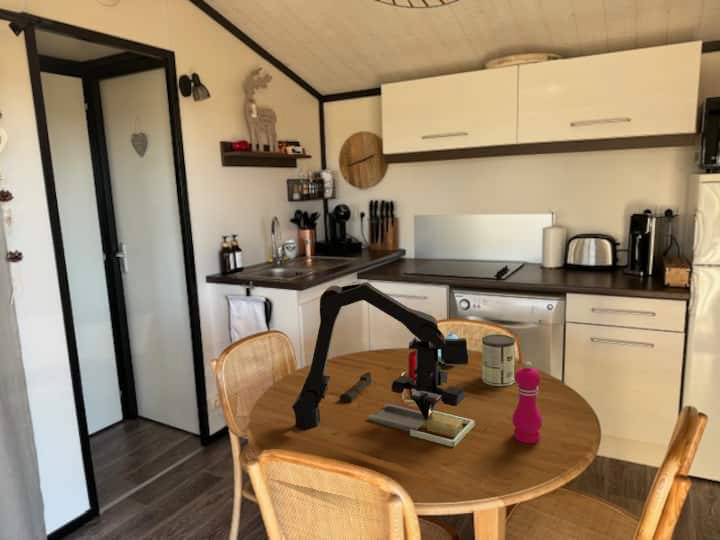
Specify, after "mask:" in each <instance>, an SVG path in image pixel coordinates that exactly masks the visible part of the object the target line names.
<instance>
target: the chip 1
mask: <svg viewBox="0 0 720 540" xmlns="http://www.w3.org/2000/svg"><path fill="white" fill-rule="evenodd" d="M446 417H448V416H445V415H440V414H436V413H433V414H431V416H430V417H429V418H428V419H427V421H426V424H427V425H426V430H427V431H429V432H433V433H437V434H441V422H442V421H443V420H444V419H445V418H446ZM441 435H442V434H441Z"/></svg>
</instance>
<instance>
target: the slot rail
mask: <svg viewBox="0 0 720 540" xmlns="http://www.w3.org/2000/svg"><path fill="white" fill-rule="evenodd" d="M367 417H368V420H367V421H369V422H371V423H377V424H380V425H383V426H386V427H391V428H395V429H397V430H402V431H406V432H409V433H410V430H411V429H412V430H416V431H418V429H419V428H420V427H421V426H423V425H424V424H425V423H427V421H425V419H424V417H423V415H422V413H421V411H420V410H418V409H412V408H407V407H404V406H400V405H396V404H392V403H387V402H385V404H383V409H381V410H380V411H379V412H377V413H376V414H371V413H370V414H369V415H368V416H367Z"/></svg>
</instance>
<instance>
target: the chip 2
mask: <svg viewBox="0 0 720 540" xmlns="http://www.w3.org/2000/svg"><path fill="white" fill-rule="evenodd" d="M462 430H463V423H462V420H461V419H457V418H453V417H449V416H448V417H446V418H445V419H444V420H443V421H442V422H441V435H444V436H446V437H447V436H448V437H452V438H455V437H456V436H457V435H458V434H459V433H460V432H461V431H462Z"/></svg>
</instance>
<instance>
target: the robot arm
mask: <svg viewBox="0 0 720 540" xmlns="http://www.w3.org/2000/svg"><path fill="white" fill-rule="evenodd" d="M362 301H364V302H366V303H368V304H369V305H371V306H373V307H374V308H376V309H378V310H379V311H381V312H383V313H384V314H387V315H388V316H390V317H391V318H393V319H394V320H397V321H398V322H399V323H401V324H402V325H403V326H404V327H406V329H407V330H408V331H409V332H410V333H411V334H412V335H414V337H413V339H412V340H411V341H410V342H409V343H408V350H415V368H414V369H413V374H415V379H414V378H413V377H411V376H407V375H401V376H398V377H397V378H395V379H394V380H393V381H392V382H391V384H390V385H391V388H390V389H391V392H392V393H395V394H396V393H397V394H400V395H401V394H402V393H404V391H405V389H406V390H409V391H411V393H412V394H411V396H410V399H411V400H413V401H414V402H415V404H416V406H417V407H418V409H419V411H421V413H422V415H423V417H424V419H425V421H426V422H427V419H428V418H429V417H430V416H431V415H432V411H434V408H435V405H436V404H437V403H439V402H440V401H441V402H442V404H443V405H447V406H451V407H457V406H458V405H459V404H460V403H462V402H463V400H464V399H466V398H465V397H466V396H465V391H464V389H463V388H462V387H457V386H452V385H449V386H448V387H446V388H445V389H444V388H443V387H442V386H443V383H444V384H447V382H448V375H449V371H448V370H443V369H442V368H441V366H440V365H439V360H438V349H441V361H444V363H445V365H444V366H468V364H469V354H468V341H467V339H466V338H464V337H463V338H458V339H446V336H445V335H444V333H442V331H441V330H440V329H439V325H438V321H437V319H436V317H434V316H433V315H431V314H428V313H426V312H423V311H420V310H416V309H412V308H409V307H408V306H406V305H405V304H403V303H402V302H399V301H398V300H396V299H394V298H393V297H391V296H390V295H388V294H386V293H385V292H383V291H381V290H380V289H378V288H377V287H375V286H373V285H372V284H371V283H370V282H366V281H364V282H361V283H356V284H348V285H344V286H338V285H336V284H335V285H331V286H329V287H327V288H326V289H325V290H324V291H323V292H322V294H321V295H320V299H319V318H320V319H319V320H320V321H319V327H318V332H317V337H316V341H315V342H316V343H315V346H314V351H313V355H312V360H311V364H310V365H311V366H310V370H309V373H308V374H307V376H306V379H305V381H304V384H303V386H302V389H301V391H300V392H299V393H298V395H297V397H296V399H295V401H294V403H293V404H292V406H291V408H292V410H293V412H294V415H295V418H294V419H295V429H299V430H302V431H307V430H311V429H314V428H316V427H318V426H319V422H320V421H321V416H320V415H321V414H320V407H319V406H320V403H321V401H322V400H325V397H326V395H327V392H328V390H329V382H330V380H331V378H332V377H331V376H330V375H327V374H326V368H327V364H328V359H329V354H330V349H331V345H332V341H333V336H334V330H335V326H336V323H337V319H338V318H339V315H340V313H341V310H342V308H343V307H346V306H349V305H352V304H355V303H358V302H362Z"/></svg>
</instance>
